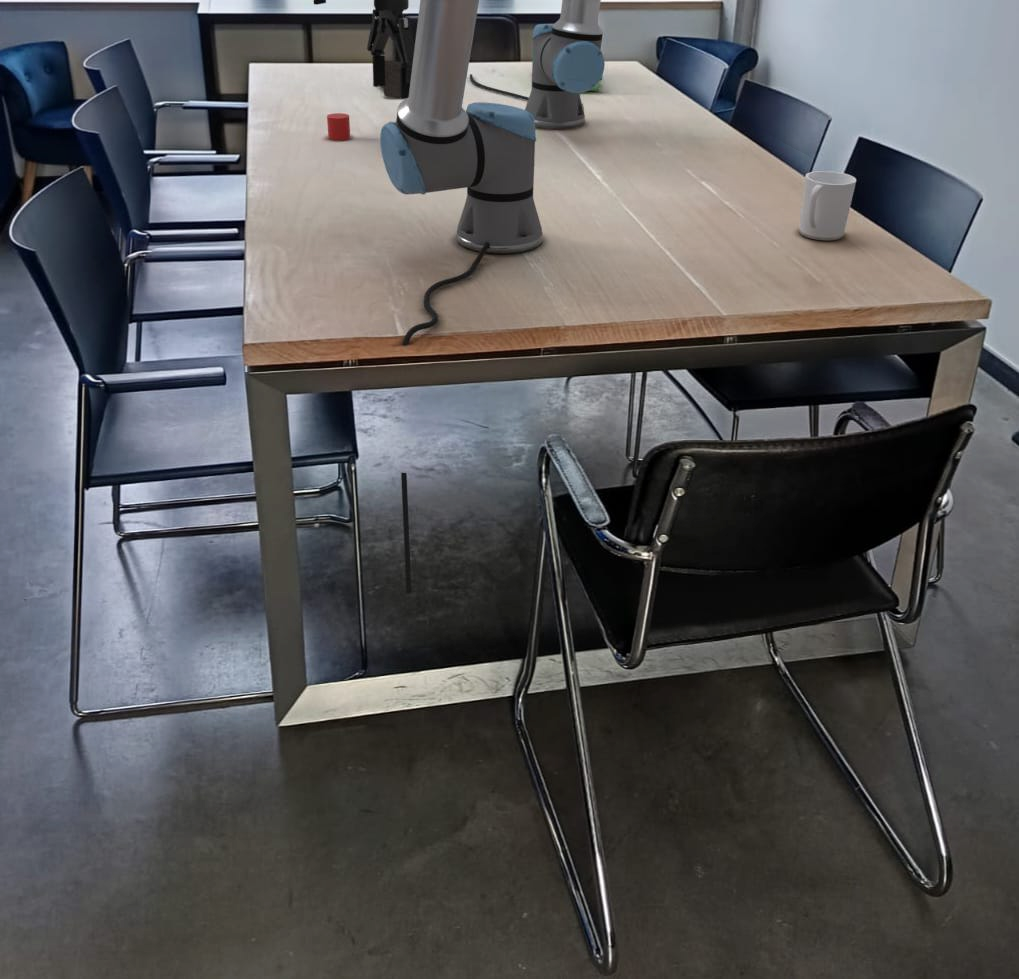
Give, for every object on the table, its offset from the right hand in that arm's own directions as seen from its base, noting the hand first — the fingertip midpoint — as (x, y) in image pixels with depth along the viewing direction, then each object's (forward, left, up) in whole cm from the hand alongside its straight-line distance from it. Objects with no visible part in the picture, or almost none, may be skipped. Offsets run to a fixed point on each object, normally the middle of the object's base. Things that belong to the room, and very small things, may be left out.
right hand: (392, 92), depth 247 cm
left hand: (+40, -19, +24) cm, 50 cm away
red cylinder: (-8, -11, -11) cm, 18 cm away
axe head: (-53, +18, -11) cm, 57 cm away
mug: (+87, +56, -11) cm, 104 cm away
